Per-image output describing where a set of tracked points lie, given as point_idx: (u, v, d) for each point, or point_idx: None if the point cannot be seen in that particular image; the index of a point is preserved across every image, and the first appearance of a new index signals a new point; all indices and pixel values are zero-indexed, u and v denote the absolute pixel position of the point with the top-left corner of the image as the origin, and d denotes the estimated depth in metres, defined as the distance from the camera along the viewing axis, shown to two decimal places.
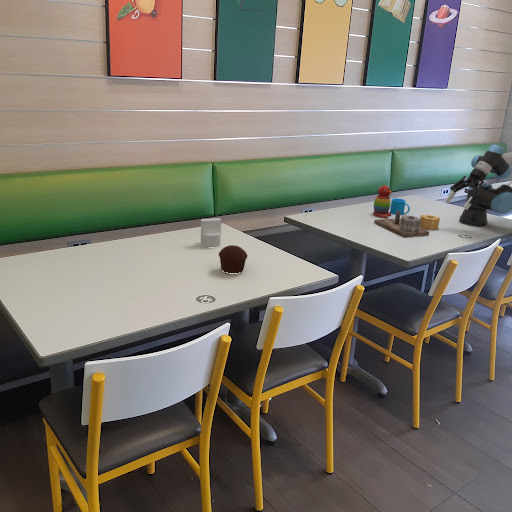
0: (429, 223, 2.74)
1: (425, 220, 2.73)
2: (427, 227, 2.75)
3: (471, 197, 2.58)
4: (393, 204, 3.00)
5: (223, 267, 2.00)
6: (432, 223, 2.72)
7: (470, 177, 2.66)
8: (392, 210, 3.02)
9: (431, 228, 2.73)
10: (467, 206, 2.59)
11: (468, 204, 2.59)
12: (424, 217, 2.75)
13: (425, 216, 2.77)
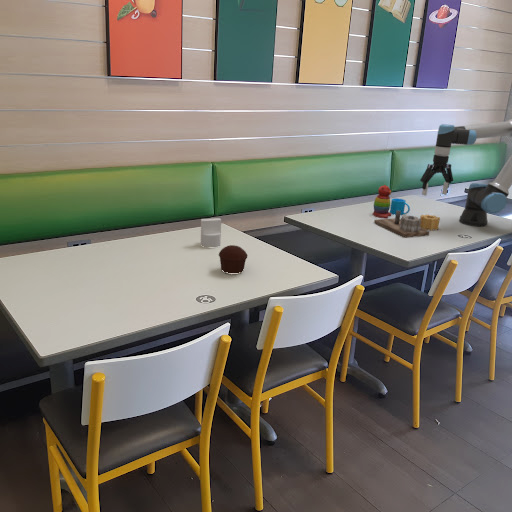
0: (429, 223, 2.74)
1: (425, 220, 2.73)
2: (427, 227, 2.75)
3: None
4: (393, 204, 3.00)
5: (223, 267, 2.00)
6: (432, 223, 2.72)
7: None
8: (392, 210, 3.02)
9: (431, 228, 2.73)
10: (424, 192, 2.69)
11: (424, 190, 2.69)
12: (424, 217, 2.75)
13: (425, 216, 2.77)
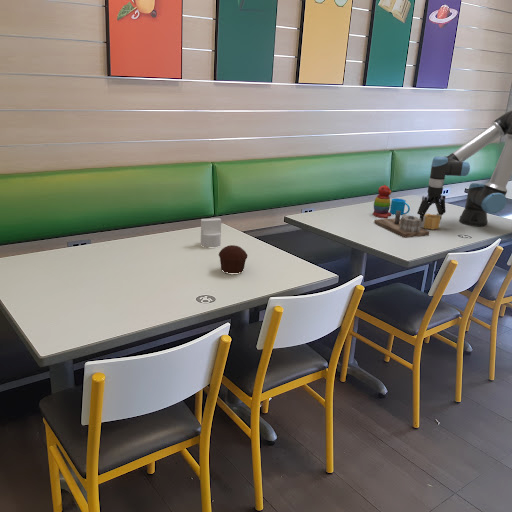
0: (430, 222, 2.73)
1: (426, 219, 2.73)
2: (428, 226, 2.74)
3: None
4: (393, 204, 3.00)
5: (223, 267, 2.00)
6: (433, 222, 2.72)
7: None
8: (392, 210, 3.02)
9: (432, 227, 2.73)
10: (421, 224, 2.75)
11: (421, 222, 2.75)
12: (425, 216, 2.75)
13: (426, 215, 2.77)
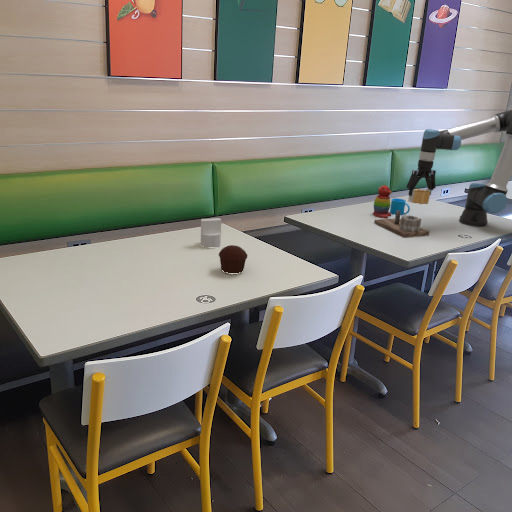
0: (419, 197, 2.67)
1: (415, 193, 2.67)
2: (417, 201, 2.68)
3: None
4: (393, 204, 3.00)
5: (223, 267, 2.00)
6: (422, 197, 2.66)
7: None
8: (392, 210, 3.02)
9: (421, 202, 2.67)
10: (410, 199, 2.69)
11: (410, 197, 2.69)
12: None
13: (415, 190, 2.70)
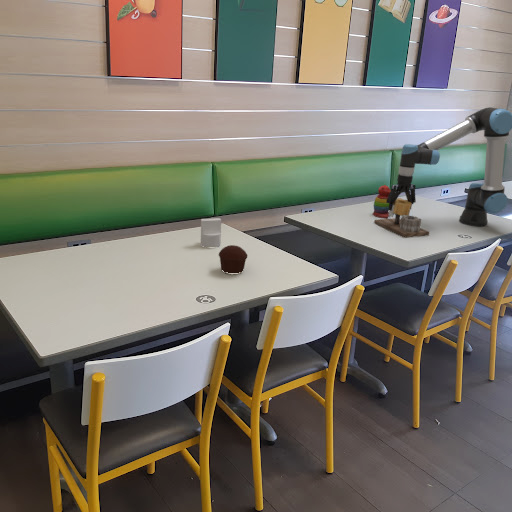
0: (400, 208, 2.67)
1: (396, 205, 2.66)
2: (397, 212, 2.68)
3: None
4: None
5: (223, 267, 2.00)
6: (403, 209, 2.66)
7: None
8: None
9: (401, 213, 2.67)
10: (390, 213, 2.70)
11: (390, 211, 2.70)
12: (395, 201, 2.68)
13: (397, 200, 2.70)
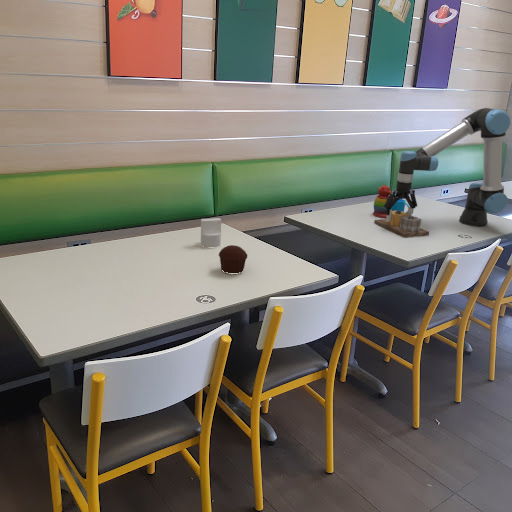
0: (397, 219, 2.70)
1: (392, 216, 2.70)
2: (395, 223, 2.71)
3: None
4: None
5: (223, 267, 2.00)
6: (399, 219, 2.69)
7: None
8: (392, 210, 3.02)
9: (398, 224, 2.70)
10: (387, 218, 2.70)
11: (387, 216, 2.70)
12: (392, 213, 2.71)
13: (393, 212, 2.73)
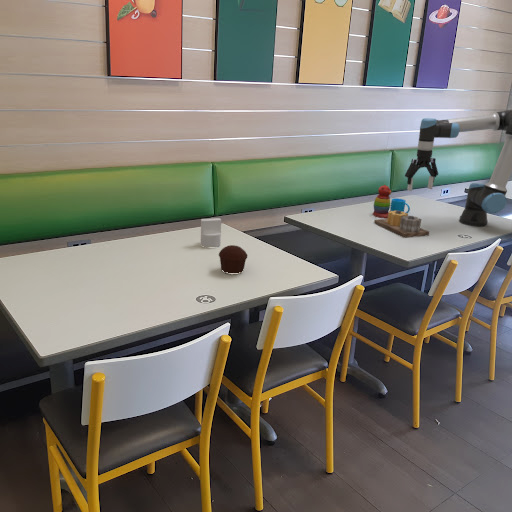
0: (397, 219, 2.70)
1: (392, 216, 2.70)
2: (395, 223, 2.71)
3: None
4: (393, 204, 3.00)
5: (223, 267, 2.00)
6: (399, 219, 2.69)
7: None
8: (392, 210, 3.02)
9: (398, 224, 2.70)
10: (409, 187, 2.67)
11: (409, 185, 2.67)
12: (392, 213, 2.71)
13: (393, 212, 2.73)
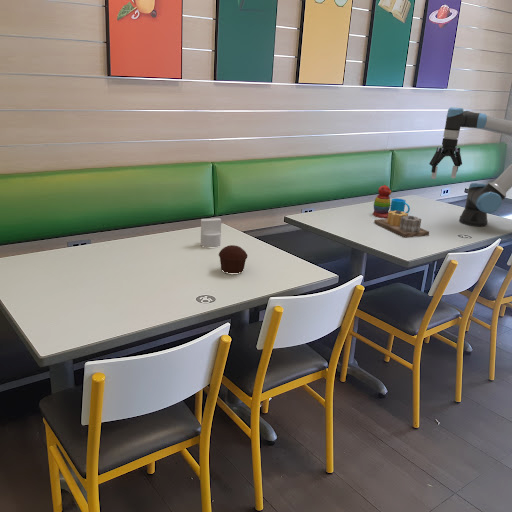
0: (397, 219, 2.70)
1: (392, 216, 2.70)
2: (395, 223, 2.71)
3: None
4: (393, 204, 3.00)
5: (223, 267, 2.00)
6: (399, 219, 2.69)
7: None
8: (392, 210, 3.02)
9: (398, 224, 2.70)
10: (433, 176, 2.70)
11: (433, 174, 2.70)
12: (392, 213, 2.71)
13: (393, 212, 2.73)
